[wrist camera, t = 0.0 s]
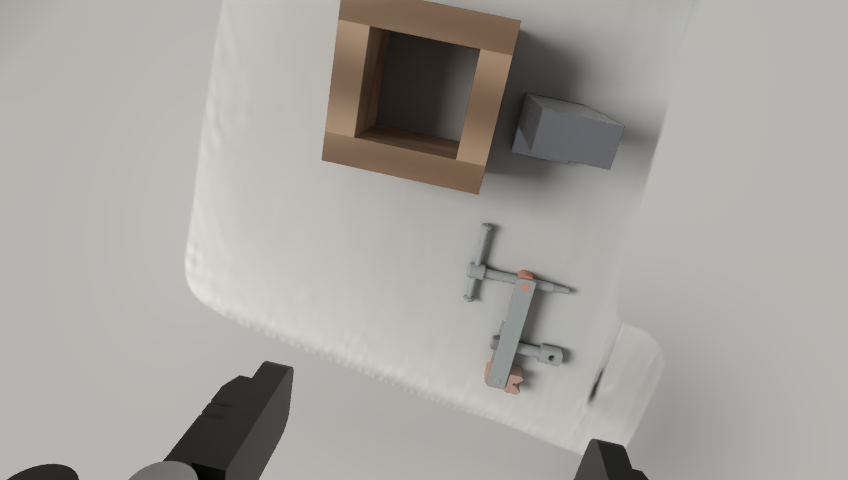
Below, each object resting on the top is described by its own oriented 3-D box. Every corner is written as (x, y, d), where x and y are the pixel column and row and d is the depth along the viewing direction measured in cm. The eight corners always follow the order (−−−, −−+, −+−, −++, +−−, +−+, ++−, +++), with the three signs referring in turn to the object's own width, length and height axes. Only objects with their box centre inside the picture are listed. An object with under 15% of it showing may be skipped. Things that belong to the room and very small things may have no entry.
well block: (368, -4, 36) (342, -17, 30) (514, 26, 36) (521, 20, 30) (347, 143, 41) (321, 160, 34) (479, 171, 40) (478, 194, 34)
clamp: (549, 402, 45) (442, 378, 45) (546, 387, 47) (443, 364, 47) (601, 252, 40) (479, 226, 40) (595, 243, 42) (479, 218, 42)
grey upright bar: (525, 92, 38) (543, 108, 26) (583, 104, 37) (624, 126, 26) (511, 149, 39) (521, 187, 28) (565, 161, 39) (598, 203, 28)
